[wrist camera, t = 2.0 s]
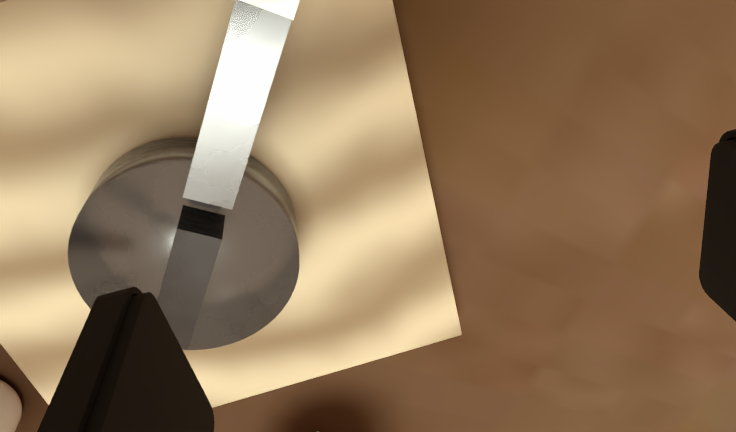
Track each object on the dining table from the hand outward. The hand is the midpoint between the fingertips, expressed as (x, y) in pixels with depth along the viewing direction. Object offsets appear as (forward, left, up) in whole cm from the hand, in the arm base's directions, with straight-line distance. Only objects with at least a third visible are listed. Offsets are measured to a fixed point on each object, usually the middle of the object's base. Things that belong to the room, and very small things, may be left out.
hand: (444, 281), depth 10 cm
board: (+7, -9, -20) cm, 23 cm away
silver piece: (+4, -7, -18) cm, 19 cm away
